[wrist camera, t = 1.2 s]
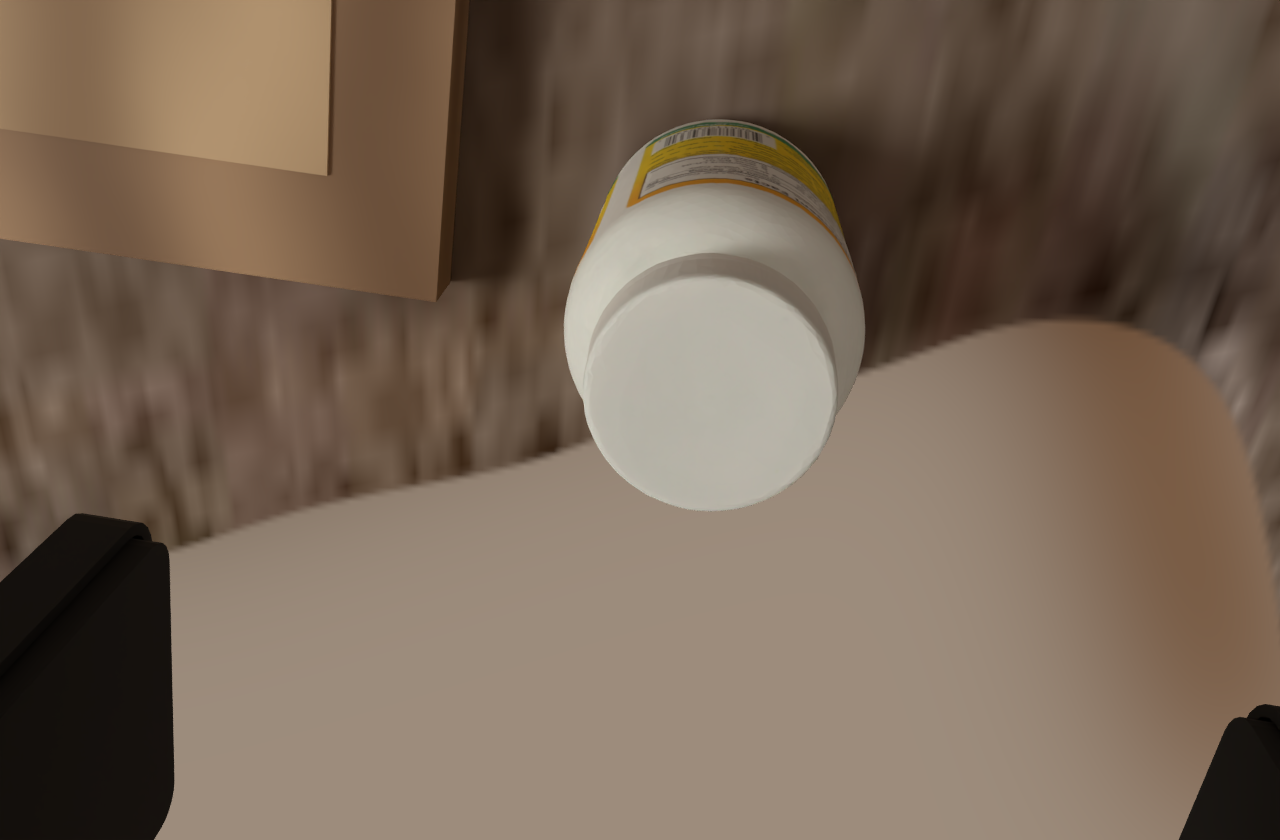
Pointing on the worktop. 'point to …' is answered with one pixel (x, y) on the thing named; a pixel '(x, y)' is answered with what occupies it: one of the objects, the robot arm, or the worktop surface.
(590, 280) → the supplement bottle
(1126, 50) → the worktop surface
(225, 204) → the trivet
